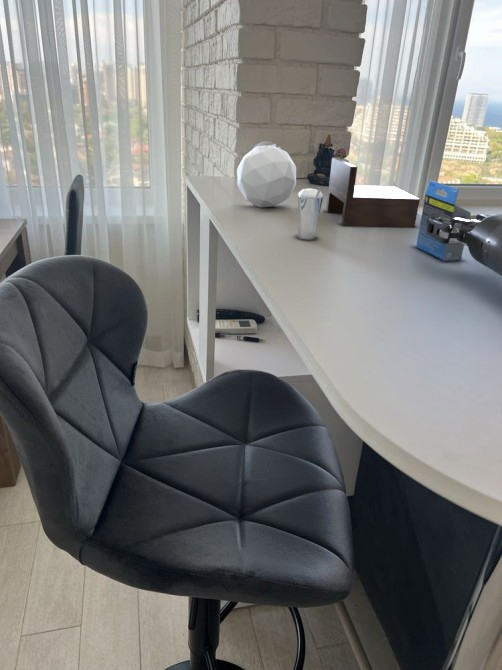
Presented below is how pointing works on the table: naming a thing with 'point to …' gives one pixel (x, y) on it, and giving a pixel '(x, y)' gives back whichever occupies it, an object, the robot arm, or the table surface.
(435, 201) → the label tape box
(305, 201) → the milkshake
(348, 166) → the l-shaped wooden block
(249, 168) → the geodesic sphere
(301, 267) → the table surface
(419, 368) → the table surface
